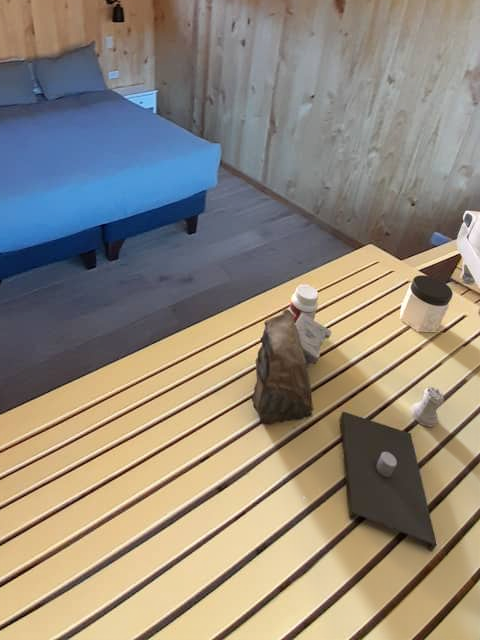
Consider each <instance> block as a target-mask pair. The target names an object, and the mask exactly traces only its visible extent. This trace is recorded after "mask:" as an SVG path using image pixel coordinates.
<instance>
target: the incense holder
mask: <svg viewBox="0 0 480 640" xmlns="http://www.w3.org/2000/svg"><path fill="white" fill-rule="evenodd" d="M295 325H296V327H297V330H298V334H299V337H300V341H301V344H302V347H303V350H304V354H305V359H306V365H307V369H308V370H309V368H310V366H311V365H314V366H315V365H316V364H317V363H318V361H319V359H320V357H321V355H320V351H319V350H320V348H321V346H322V345H323V342H324V340H325V339H329V338H330V337H331V335H332V331H331V330H330V329H329V328H327V327H326V326H324V325H323V324H321V323H319V322H318V321H316V320H315V319H314V320H313V319H311V318H309V317H308V316H306V315H305V314H301V315H300V317H299V318H298V320H297V322H296V323H295Z"/></svg>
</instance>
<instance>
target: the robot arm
mask: <svg viewBox="0 0 480 640" xmlns="http://www.w3.org/2000/svg"><path fill="white" fill-rule="evenodd" d="M462 220H463V222H462V224H461V226H460V228H459V231H458V235H457V237H456V249H457V251H458V252H459V254H460V256H461V258H462V270H461V274H460V276H459V279H460V280H461V282H462V284H464V285H469V286H473V285H474V284H476V286H477V287H478V289H479V290H480V211H478V210H477V211H476V210H465V211H464V213H463V216H462ZM477 314H478V317H480V308H479V309H478V311H477Z"/></svg>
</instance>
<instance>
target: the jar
mask: <svg viewBox="0 0 480 640" xmlns="http://www.w3.org/2000/svg"><path fill="white" fill-rule="evenodd" d="M453 295H454V293H453V290H452V288H451V287H450V286H449V285H448V284H447V283H445V282H444V281H443V280H440V279H438V278H436V277H434V276H431V275H425V274H423V275H422V274H421V275H416V276H415V277H414V278H413V279H412V282H411V283H410V284H409V286H408V289H407V292H406V293H405V297H404V299H403V301H402V303H401V306H400V312H399V320H400V321H402V322H403V323H404V324H406V325H407V326H408V327H410V328H412V329H413V330H414V331H416V332H417V333H434V332H436V333H437V332H438V330H439V327H440V326H441V323H442V321H443V319H444V317H445V316H446V313H447V311H448V309H449V307H450V306H449V305H450V304H449V303H450V302H451V301H452V298H453Z"/></svg>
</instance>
